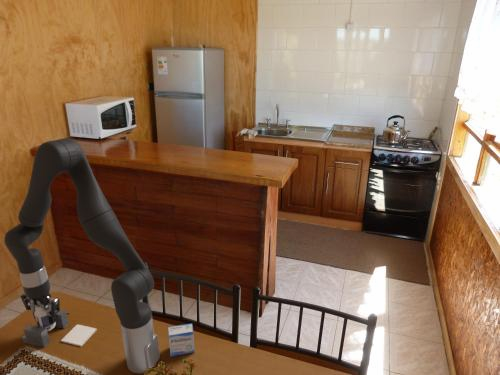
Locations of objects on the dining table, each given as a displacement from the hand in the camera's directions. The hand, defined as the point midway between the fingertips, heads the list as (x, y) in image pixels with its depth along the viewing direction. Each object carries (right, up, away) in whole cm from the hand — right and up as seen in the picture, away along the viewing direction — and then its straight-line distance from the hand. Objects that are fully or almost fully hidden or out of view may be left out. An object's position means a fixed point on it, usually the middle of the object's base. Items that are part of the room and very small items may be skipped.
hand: (45, 321), depth 128 cm
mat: (+11, -6, +1) cm, 12 cm away
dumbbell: (-1, -5, +4) cm, 6 cm away
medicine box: (+48, -8, -5) cm, 48 cm away
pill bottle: (0, -3, +1) cm, 3 cm away
